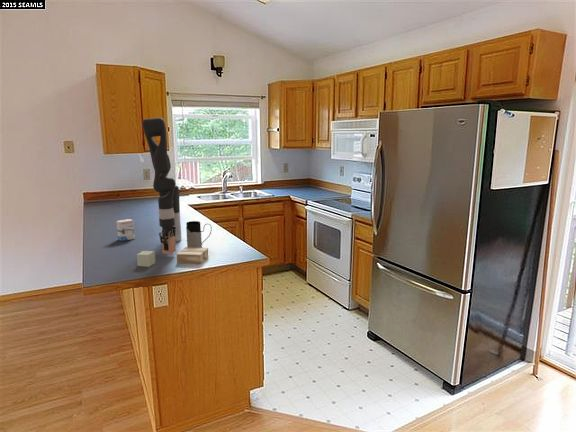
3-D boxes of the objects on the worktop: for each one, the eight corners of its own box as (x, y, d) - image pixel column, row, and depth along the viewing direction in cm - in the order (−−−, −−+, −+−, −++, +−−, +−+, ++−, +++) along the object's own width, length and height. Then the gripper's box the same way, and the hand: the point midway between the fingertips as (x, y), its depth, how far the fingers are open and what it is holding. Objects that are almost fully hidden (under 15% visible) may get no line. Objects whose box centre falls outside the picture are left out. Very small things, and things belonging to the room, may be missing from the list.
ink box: (120, 241, 225) (119, 222, 223) (117, 239, 229) (115, 220, 226) (135, 238, 231) (133, 220, 229) (131, 237, 235) (130, 218, 232)
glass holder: (185, 247, 214) (184, 221, 211) (211, 244, 219) (209, 219, 216) (187, 251, 206) (186, 224, 203) (213, 249, 211) (212, 222, 208)
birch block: (186, 256, 199) (185, 247, 198) (208, 257, 198) (208, 248, 197) (177, 263, 188) (176, 254, 186) (200, 264, 186) (200, 255, 185)
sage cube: (144, 262, 189) (143, 250, 188) (155, 262, 188) (154, 251, 187) (137, 266, 183) (136, 254, 182) (149, 266, 182) (148, 254, 181)
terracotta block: (166, 250, 200) (165, 235, 198) (175, 250, 199) (174, 236, 198) (162, 253, 195) (161, 238, 194) (171, 253, 195) (170, 238, 193)
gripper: (166, 213, 201) (168, 244, 204) (152, 219, 187) (155, 252, 191) (179, 214, 199) (181, 245, 203) (167, 220, 186) (169, 253, 189)
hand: (168, 248), depth 197 cm, fingers closed on terracotta block, 5 cm apart
